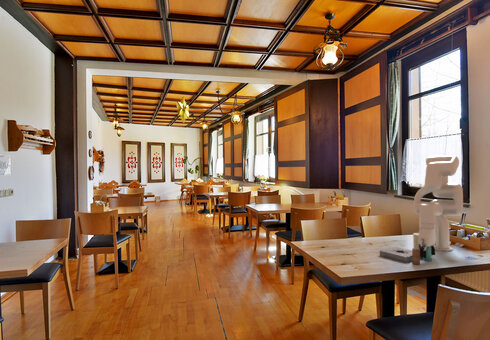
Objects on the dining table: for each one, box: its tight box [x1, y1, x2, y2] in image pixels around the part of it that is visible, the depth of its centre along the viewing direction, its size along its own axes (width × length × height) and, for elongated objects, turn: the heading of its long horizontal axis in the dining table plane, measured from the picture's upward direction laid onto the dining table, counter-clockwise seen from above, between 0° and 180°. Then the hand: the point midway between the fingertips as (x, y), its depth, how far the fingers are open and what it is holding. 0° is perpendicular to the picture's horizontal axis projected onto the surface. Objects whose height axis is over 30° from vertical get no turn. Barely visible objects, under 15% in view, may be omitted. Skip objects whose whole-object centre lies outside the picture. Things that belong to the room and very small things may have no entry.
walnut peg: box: [411, 247, 421, 266], centre depth 156 cm, size 4×4×8 cm
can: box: [412, 232, 424, 249], centre depth 177 cm, size 9×9×12 cm
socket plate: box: [379, 246, 423, 264], centre depth 170 cm, size 16×16×3 cm
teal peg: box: [423, 246, 432, 262], centre depth 163 cm, size 4×4×8 cm
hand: (427, 256), depth 163 cm, fingers open, 9 cm apart
